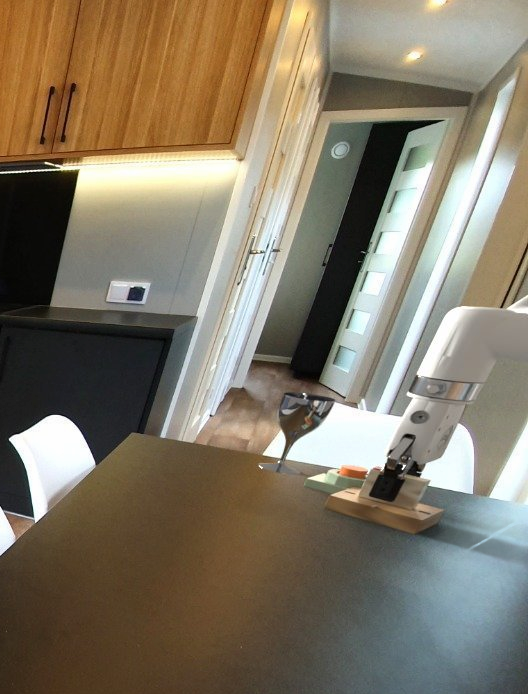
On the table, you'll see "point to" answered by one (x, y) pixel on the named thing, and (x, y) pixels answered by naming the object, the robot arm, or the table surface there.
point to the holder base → (383, 511)
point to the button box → (333, 482)
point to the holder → (407, 494)
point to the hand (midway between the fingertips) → (389, 494)
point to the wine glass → (298, 422)
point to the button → (353, 471)
